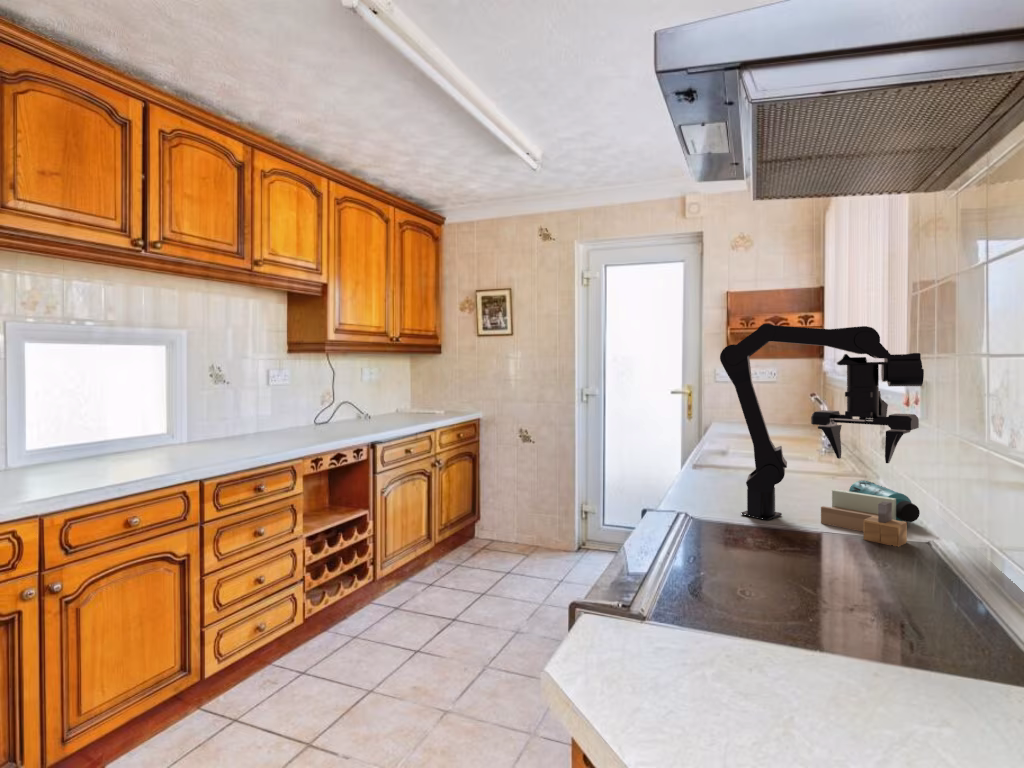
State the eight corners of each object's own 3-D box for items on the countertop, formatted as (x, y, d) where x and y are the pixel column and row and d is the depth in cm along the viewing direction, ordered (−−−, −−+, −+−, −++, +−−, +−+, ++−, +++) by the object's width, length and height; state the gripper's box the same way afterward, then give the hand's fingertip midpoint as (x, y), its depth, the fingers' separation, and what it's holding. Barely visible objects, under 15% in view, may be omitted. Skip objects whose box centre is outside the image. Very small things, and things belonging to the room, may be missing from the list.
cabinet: (898, 547, 109) (898, 507, 109) (863, 540, 114) (863, 502, 113) (906, 543, 112) (906, 503, 111) (872, 536, 116) (872, 498, 116)
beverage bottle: (877, 487, 140) (934, 507, 120) (861, 510, 140) (916, 534, 120) (853, 472, 140) (906, 490, 120) (838, 496, 140) (888, 518, 120)
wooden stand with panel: (880, 535, 116) (880, 505, 116) (818, 522, 126) (818, 494, 126) (895, 527, 121) (896, 498, 121) (835, 516, 131) (835, 489, 131)
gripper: (926, 385, 121) (926, 460, 122) (830, 384, 135) (830, 451, 136) (910, 388, 114) (910, 468, 114) (810, 386, 128) (810, 457, 128)
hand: (862, 460), depth 123 cm, fingers open, 9 cm apart
